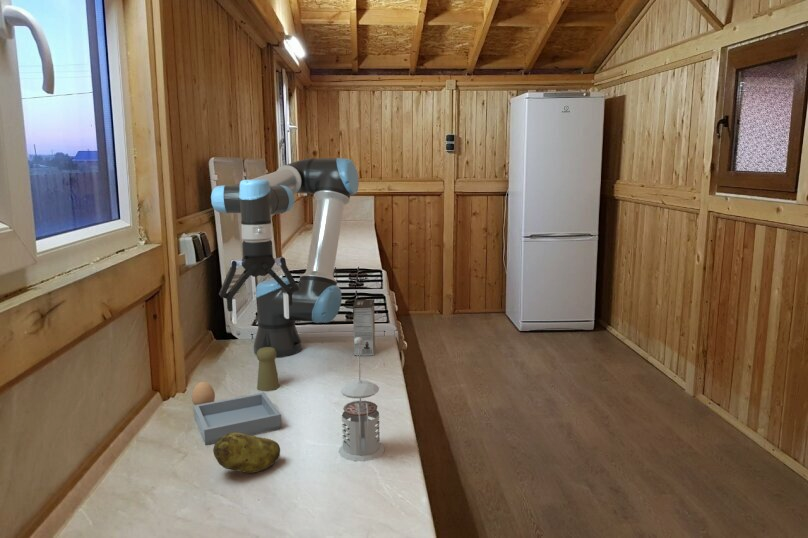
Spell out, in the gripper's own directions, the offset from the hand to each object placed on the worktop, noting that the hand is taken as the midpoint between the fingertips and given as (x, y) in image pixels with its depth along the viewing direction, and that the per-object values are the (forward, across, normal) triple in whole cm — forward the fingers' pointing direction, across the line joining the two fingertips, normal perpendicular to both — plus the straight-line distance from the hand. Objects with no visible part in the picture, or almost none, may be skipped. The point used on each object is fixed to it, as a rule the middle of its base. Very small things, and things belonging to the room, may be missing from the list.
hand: (261, 320), depth 162 cm
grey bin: (+20, -10, -18) cm, 29 cm away
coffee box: (+19, +35, +19) cm, 44 cm away
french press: (+20, +12, -44) cm, 49 cm away
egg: (+20, -16, -6) cm, 26 cm away
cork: (+19, +1, +2) cm, 20 cm away
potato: (+20, -11, -41) cm, 47 cm away
